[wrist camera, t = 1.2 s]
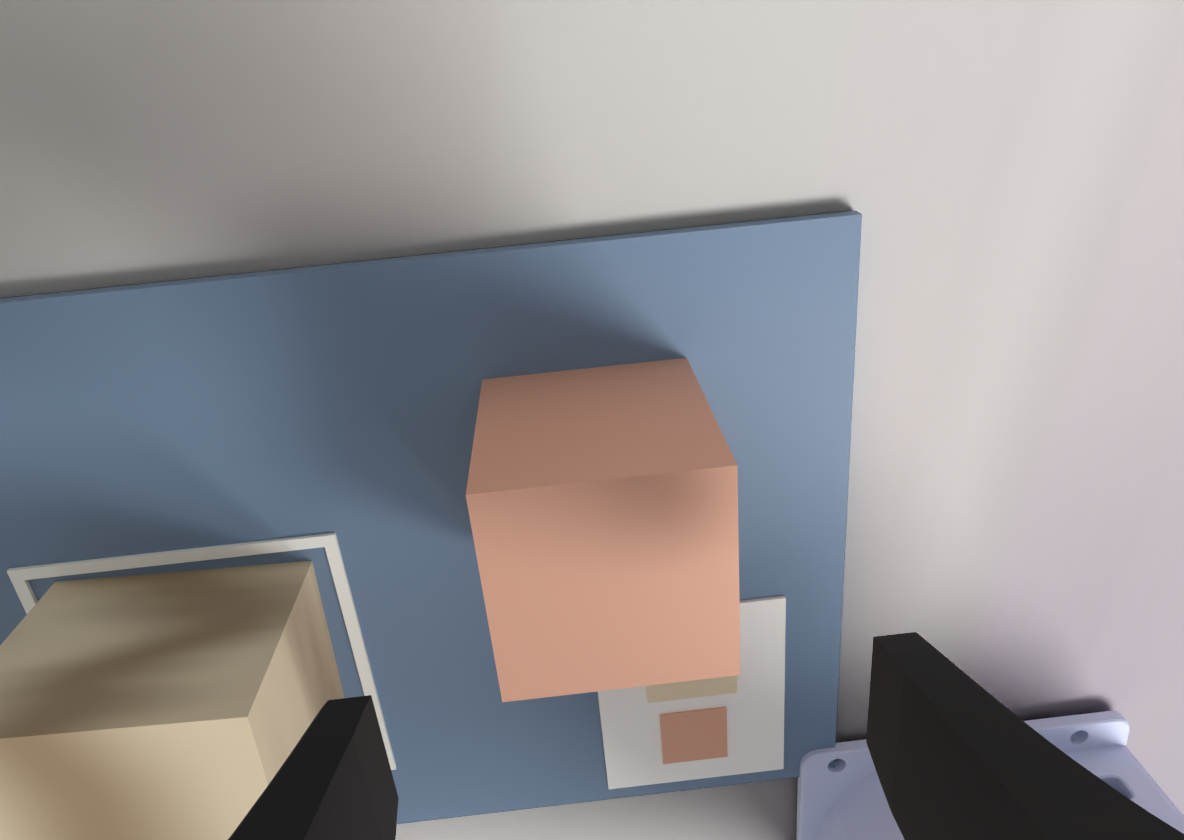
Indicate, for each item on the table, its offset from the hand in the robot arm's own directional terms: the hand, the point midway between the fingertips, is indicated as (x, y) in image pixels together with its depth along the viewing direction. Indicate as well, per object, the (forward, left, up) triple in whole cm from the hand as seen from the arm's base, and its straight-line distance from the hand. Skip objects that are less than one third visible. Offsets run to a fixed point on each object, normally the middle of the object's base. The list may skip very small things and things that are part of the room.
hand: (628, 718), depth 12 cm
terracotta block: (0, 0, -8) cm, 8 cm away
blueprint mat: (+6, +3, -8) cm, 11 cm away
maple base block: (+10, +5, -8) cm, 14 cm away
